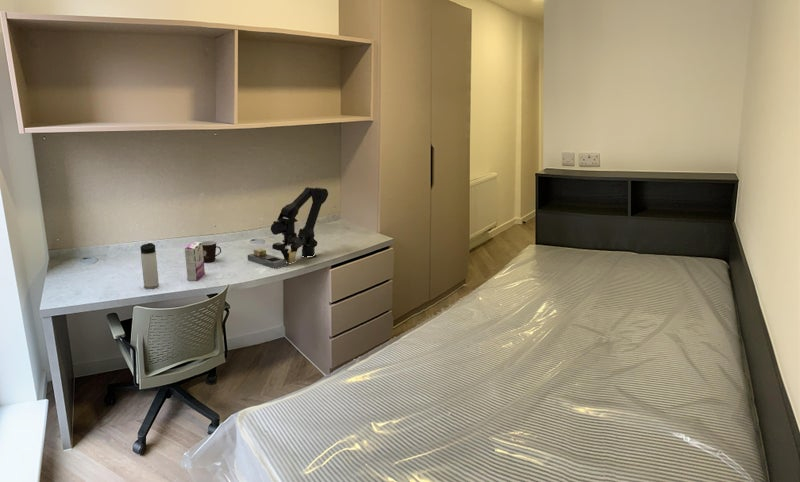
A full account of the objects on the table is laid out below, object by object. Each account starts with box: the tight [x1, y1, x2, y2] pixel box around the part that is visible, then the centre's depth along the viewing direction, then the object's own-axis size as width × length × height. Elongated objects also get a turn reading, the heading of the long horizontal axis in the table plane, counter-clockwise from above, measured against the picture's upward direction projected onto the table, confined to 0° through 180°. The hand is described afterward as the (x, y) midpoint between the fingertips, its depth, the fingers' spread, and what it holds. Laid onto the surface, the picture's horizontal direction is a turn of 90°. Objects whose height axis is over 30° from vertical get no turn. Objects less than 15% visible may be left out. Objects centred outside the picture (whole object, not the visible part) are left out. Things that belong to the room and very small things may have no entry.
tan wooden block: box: [283, 249, 297, 264], centre depth 309 cm, size 4×4×6 cm
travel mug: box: [139, 242, 160, 290], centre depth 266 cm, size 6×7×20 cm
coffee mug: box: [201, 240, 222, 264], centre depth 306 cm, size 12×9×10 cm
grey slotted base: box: [247, 252, 287, 270], centre depth 307 cm, size 8×22×3 cm, turn 51°
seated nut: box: [253, 248, 267, 257], centre depth 310 cm, size 4×4×6 cm
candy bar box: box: [184, 241, 206, 282], centre depth 281 cm, size 11×5×16 cm, turn 179°
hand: (289, 259), depth 309 cm, fingers closed on tan wooden block, 4 cm apart
